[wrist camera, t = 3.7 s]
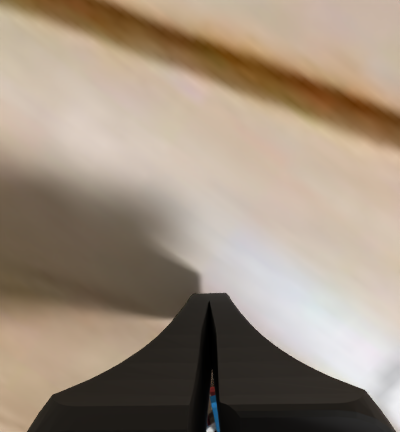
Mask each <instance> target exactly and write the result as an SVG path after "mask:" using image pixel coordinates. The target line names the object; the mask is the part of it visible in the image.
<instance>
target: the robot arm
mask: <svg viewBox="0 0 400 432" xmlns="http://www.w3.org/2000/svg"><path fill="white" fill-rule="evenodd" d="M212 371H213V380H214V388H215V396H216V404H217V412H218V420H219V429H220V432H396V431H395V430H394V428H393V427H392V425H391V424H390V422H389V421H388V419H387V418H386V417H385V415H384V414H383V412H382V411H381V410H380V408H379V407H378V406H377V405H376V403H375V402H374V401H373V400H372V399H371V397H370V396H369V395H368V393H367V392H366V391H365V390H363V389H361V388H358V387H355V386H353V385H350V384H348V383H345V382H343V381H340V380H337V379H335V378H332V377H330V376H328V375H325V374H323V373H321V372H319V371H317V370H315V369H313V368H311V367H309V366H307V365H305V364H304V363H302V362H300V361H298V360H296V359H295V358H293V357H292V356H290V355H288V354H287V353H285V352H284V351H282V350H281V349H279V348H278V347H276V346H275V345H274V344H272V343H271V342H270V341H269V340H267V339H266V338H265V337H263V336H262V335H261V334H260V333H259V332H258V331H257V330H256V329H255V328H254V327H253V326H252V325H251V324H250V323H249V322H248V321H247V320H246V318H245V317H244V316H243V315H242V314H241V313H240V311H239V310H238V309H237V307H236V306H235V305H234V303H233V302H232V300H231V299H230V297H229V296H228V295H227V294H226V293H210V294H193V295H192V296H191V297H190V298H189V300H188V301H187V303H186V304H185V306H184V307H183V308H182V310H181V311H180V312H179V313H178V314H177V316H176V317H175V318H174V319H173V321H172V322H171V323H170V324H169V325H168V326H167V327H166V328H165V329H164V330H163V331H162V332H161V333H160V334H159V335H158V336H157V337H156V338H155V339H154V340H152V341H151V342H150V343H149V344H148V345H146V346H145V347H144V348H142V349H141V350H140V351H138V352H137V353H135V354H134V355H132V356H131V357H129V358H128V359H126V360H125V361H123V362H122V363H120V364H118V365H116V366H115V367H113V368H111V369H109V370H108V371H106V372H104V373H102V374H100V375H98V376H96V377H94V378H92V379H90V380H87V381H85V382H83V383H80V384H78V385H76V386H73V387H71V388H68V389H66V390H64V391H61V392H59V393H56V394H53V395H52V396H51V398H50V399H49V400H48V402H47V403H46V404H45V406H44V407H43V408H42V410H41V411H40V412H39V414H38V415H37V417H36V419H35V420H34V422H33V423H32V425H31V426H30V428H29V429H28V431H27V432H206V431H207V419H208V408H209V397H210V385H211V374H212Z"/></svg>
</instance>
